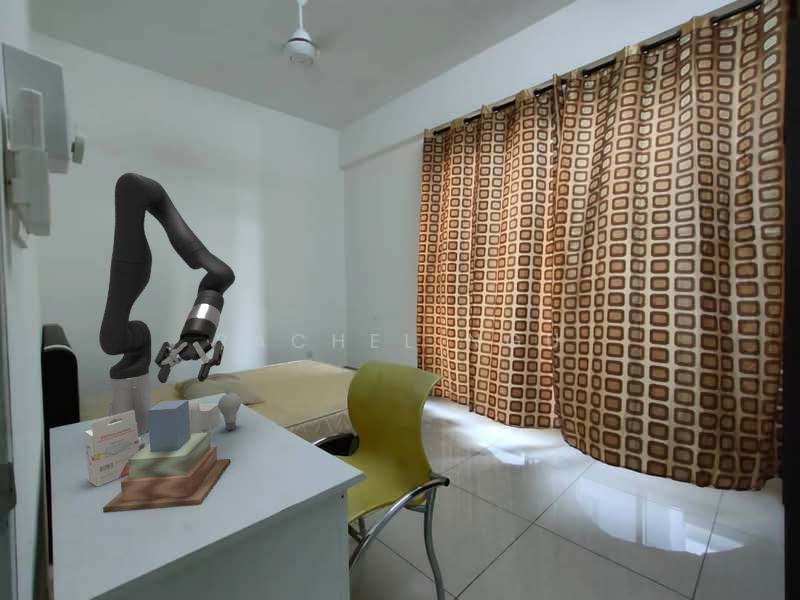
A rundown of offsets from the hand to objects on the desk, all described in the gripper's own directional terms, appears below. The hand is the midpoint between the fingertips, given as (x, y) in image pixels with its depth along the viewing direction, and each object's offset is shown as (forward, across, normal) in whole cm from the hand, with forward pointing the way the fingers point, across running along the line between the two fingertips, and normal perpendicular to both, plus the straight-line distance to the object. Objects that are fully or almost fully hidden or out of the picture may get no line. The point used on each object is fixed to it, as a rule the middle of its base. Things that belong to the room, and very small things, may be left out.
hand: (181, 380), depth 82 cm
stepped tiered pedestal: (+19, 0, +11) cm, 22 cm away
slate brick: (+13, 0, +5) cm, 14 cm away
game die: (+6, -19, +25) cm, 32 cm away
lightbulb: (0, +2, +31) cm, 31 cm away
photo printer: (+6, -8, +25) cm, 27 cm away
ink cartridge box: (+15, -16, +16) cm, 27 cm away
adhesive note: (-3, -7, +34) cm, 35 cm away
